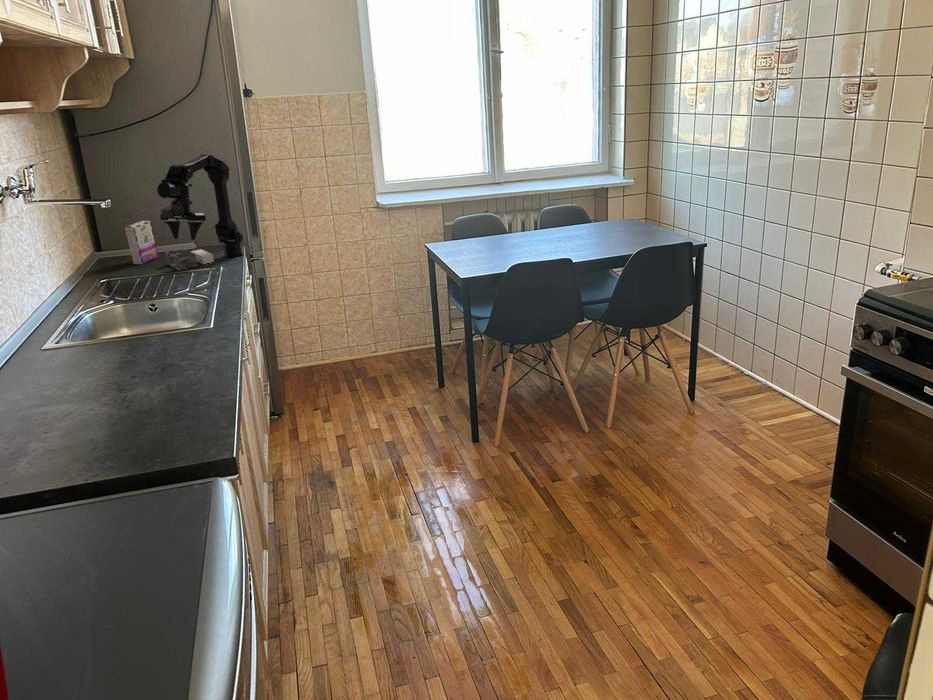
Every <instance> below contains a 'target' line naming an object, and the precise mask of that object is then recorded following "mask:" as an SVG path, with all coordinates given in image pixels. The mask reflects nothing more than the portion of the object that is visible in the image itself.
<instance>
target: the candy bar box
mask: <svg viewBox="0 0 933 700" xmlns="http://www.w3.org/2000/svg"><path fill="white" fill-rule="evenodd" d="M124 230H125V234H126V239H127V242H128V246H129V251H130V255H131V259H132V264H133V265H144V264H143V263H145V264H147V263H149V262H148V261H150V262H152V261H154V260H156V259H159V254H158V249H157V246H156V241H155V237H154V233H153V228H152V223H151V220H141V221H140V220H139V221H138V222H134V223H131V224H129V225H127V226H124ZM153 259H154V260H153ZM151 260H152V261H151ZM146 262H147V263H146Z"/></svg>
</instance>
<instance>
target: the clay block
mask: <svg viewBox="0 0 933 700" xmlns="http://www.w3.org/2000/svg"><path fill="white" fill-rule="evenodd" d="M190 252H193V253H195V256H196V261H198V262H200V263H199V264H201V263H203V264H206V263H210V264H212V263H211V262H214V263H215V260H214V255H213V253H212V252H209V251H206V250H204V249H196V250H191V251H190ZM198 262H197V263H198ZM203 264H202V265H203ZM206 265H207V264H206Z"/></svg>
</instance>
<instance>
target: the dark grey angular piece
mask: <svg viewBox="0 0 933 700" xmlns="http://www.w3.org/2000/svg"><path fill="white" fill-rule="evenodd" d="M180 249H181V252H177V253H173V254H172V253H171V252H169V251H165V252H164V255H165V260H166V262H165V264H166V265H167V264H168V265H171V266H173V267H175V268H177V269H184V268H190V267H194V266H199V264H198V262H197V261H196V256H195V253H193V252H191V251H190V252H189V256H188V253H187V249H186V248H180ZM168 265H167V266H168ZM171 266H170V267H171ZM173 267H172V268H173ZM175 268H174V269H175ZM194 268H195V267H194ZM177 269H176V270H177ZM190 269H191V268H190Z"/></svg>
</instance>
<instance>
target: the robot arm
mask: <svg viewBox="0 0 933 700" xmlns="http://www.w3.org/2000/svg"><path fill="white" fill-rule="evenodd" d="M202 169H203V170H204V171H205V172H206V173H207V175H208V176H207V177H208V179H209V181H210V182H211V184H213V187H214V195H215V201H216V209H217V214H218V215H217V216H218V222H217V224H215V225H214V227H215V228H214V229H215V234H216V237H217V239H218V241H219V243H223V244H222V245H223V246H222V251H223V256H224V257H226V258H229V259H231V258H237V257H241V256H244V255H245V254H244V253H243V252H242V247H241V243H242V241H244V239H243V237H244V236H243V234H242V233H241V232H240V231H239V230H238V227H237V224H236V223H235V221H234V220H233V219H232V213H231V209H230V208H231V207H230V201H229V192H228V187H227V184H228V181H229V179H230V167H229V166H228V165H227V163H225V162H224V161H222V160H221V159H219V158H217V157H215V156H214V155H212V154H209V153H207V154H206V153H204V154H202V153H201V154H199V156H197V157H195V158H193V159H190V160H189V161H187V162H184V163H176V164H171V165H170V166H169V169H168V170H167V173H166V176H165V178H164V179H161V182H160V183H159V184H158V186H157V189H156V190H157V194H158V196H159V197H160V198H163V199H173V200H171V202H170V205H168V206H166V207H163V208H161V209H160V212H161V214H160V216H159V217H160V221H162V222H163V223H165V224H166V225H167V226H168V227H169V230H170V232H171V234H172V236H173V238H174V240H178V238H179V230H180V224H181V221H180V220H187V221H186V224H187V225H188V226H189V233H190V239H191V241H195V239H196V237H197V234H198V232H199V230H200V228H201V226H202V224H204V222H205V221H207V220H206V219H207V218H206V215H205V213H201V212H198V213H195V212H193V211H191V205H192V204H193V201H192V200H190V198H191V197H190V187H193V185H192V183H191V182H189V180H190V179H192V178H193V177H194V173H196V172H197V171H200V170H202Z"/></svg>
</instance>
